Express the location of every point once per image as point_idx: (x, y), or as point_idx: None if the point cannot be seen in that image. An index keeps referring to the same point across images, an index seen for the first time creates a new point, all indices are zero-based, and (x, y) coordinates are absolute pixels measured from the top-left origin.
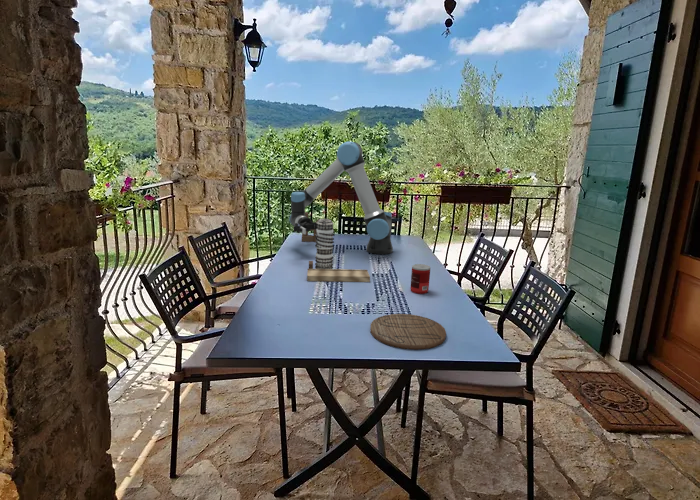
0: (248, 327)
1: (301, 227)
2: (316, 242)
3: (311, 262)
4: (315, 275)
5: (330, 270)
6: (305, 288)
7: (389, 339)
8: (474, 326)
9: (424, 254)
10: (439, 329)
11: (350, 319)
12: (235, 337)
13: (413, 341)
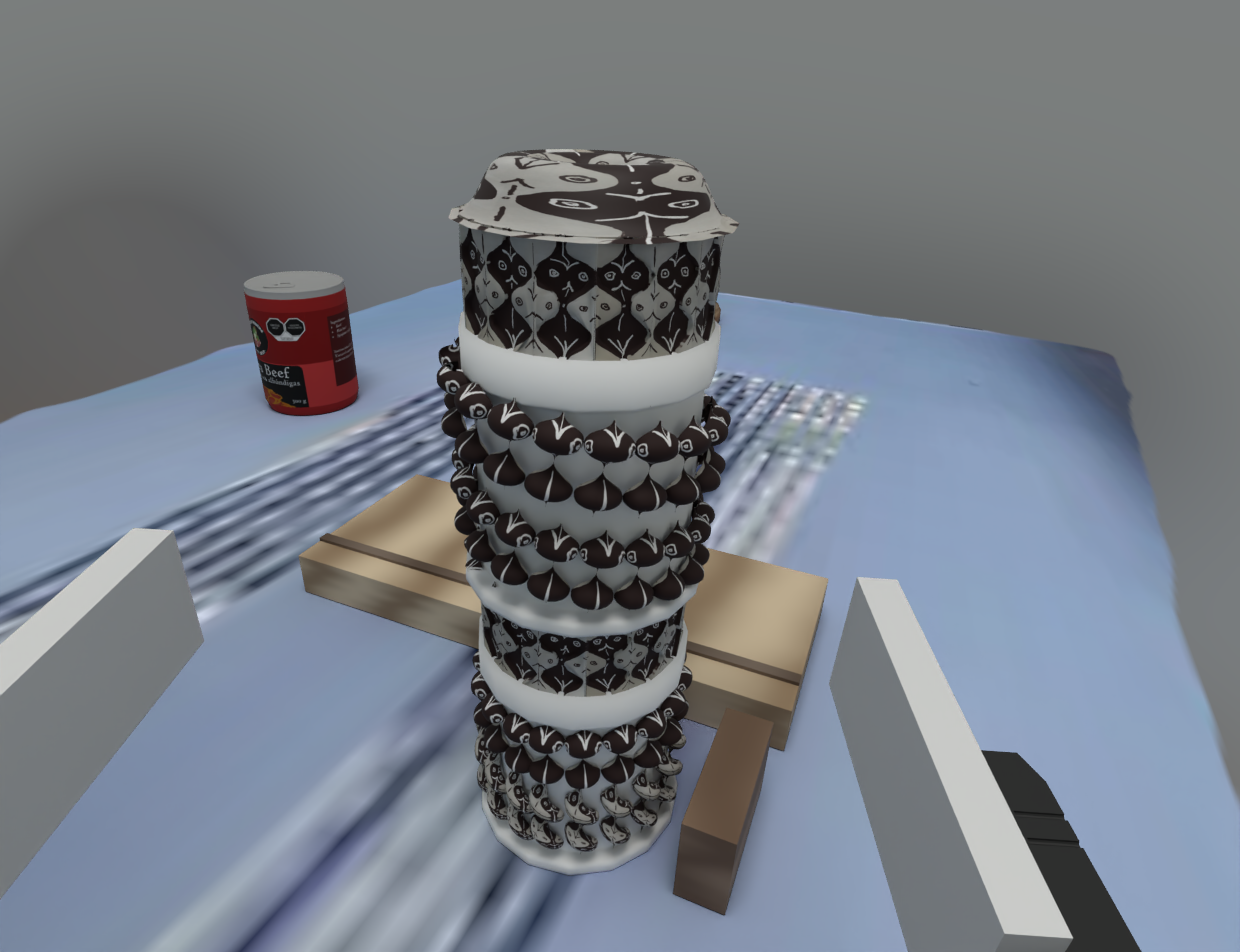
0: (1071, 392)
1: (995, 783)
2: (705, 508)
3: (724, 766)
4: (763, 568)
5: None
6: (851, 534)
7: None
8: (444, 297)
9: None
10: None
11: (738, 359)
12: (1092, 375)
13: None
